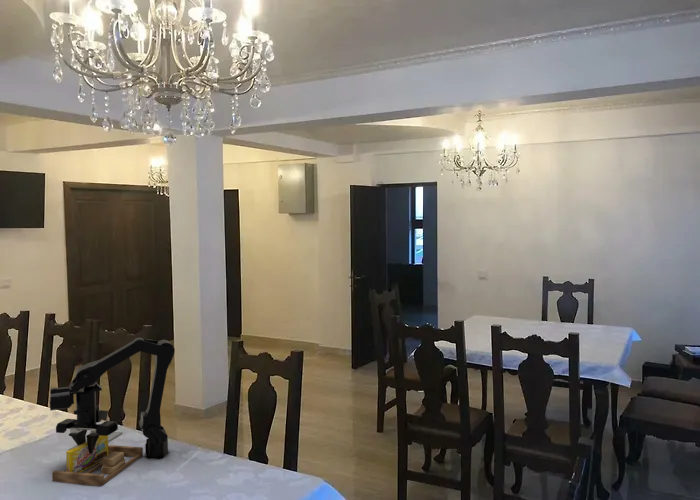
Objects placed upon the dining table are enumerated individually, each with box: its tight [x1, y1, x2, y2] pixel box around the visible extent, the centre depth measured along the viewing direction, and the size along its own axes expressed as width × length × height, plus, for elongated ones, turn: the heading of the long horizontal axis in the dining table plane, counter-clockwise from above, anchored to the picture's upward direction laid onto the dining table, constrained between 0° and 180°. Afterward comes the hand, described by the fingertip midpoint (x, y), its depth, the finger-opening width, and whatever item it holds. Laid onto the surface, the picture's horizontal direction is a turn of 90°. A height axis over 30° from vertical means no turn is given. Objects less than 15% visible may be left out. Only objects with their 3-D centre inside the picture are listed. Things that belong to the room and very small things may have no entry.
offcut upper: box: [102, 451, 125, 468], centre depth 179 cm, size 4×6×2 cm, turn 168°
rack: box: [51, 444, 144, 487], centre depth 180 cm, size 17×22×3 cm
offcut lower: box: [101, 458, 126, 475], centre depth 179 cm, size 4×7×2 cm, turn 173°
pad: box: [68, 431, 123, 450], centre depth 203 cm, size 9×18×1 cm, turn 169°
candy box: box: [65, 435, 109, 473], centre depth 181 cm, size 16×2×8 cm, turn 161°
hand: (87, 453), depth 181 cm, fingers closed on candy box, 2 cm apart
